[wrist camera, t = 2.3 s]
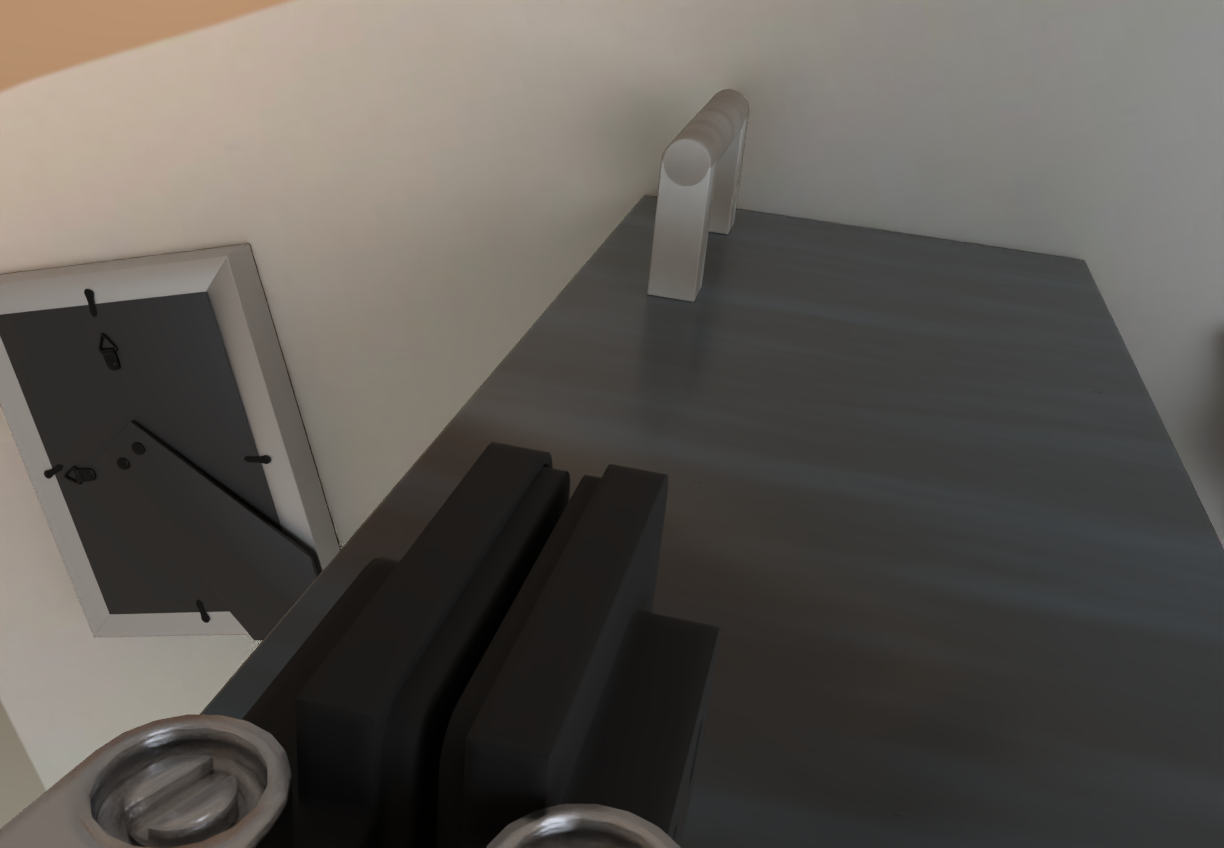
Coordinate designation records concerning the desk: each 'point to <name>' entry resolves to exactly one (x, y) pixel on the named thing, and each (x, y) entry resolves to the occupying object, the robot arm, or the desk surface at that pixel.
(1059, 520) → the cupboard door
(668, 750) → the robot arm
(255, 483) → the picture frame
